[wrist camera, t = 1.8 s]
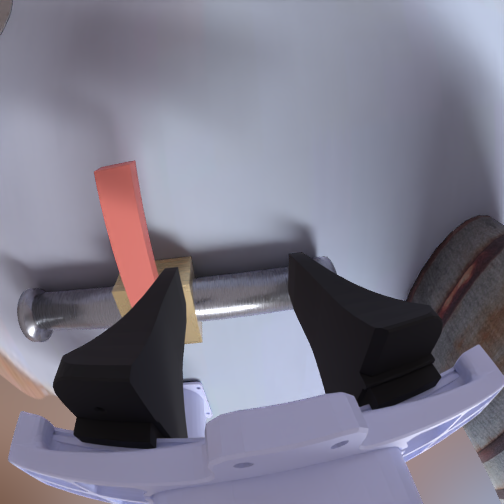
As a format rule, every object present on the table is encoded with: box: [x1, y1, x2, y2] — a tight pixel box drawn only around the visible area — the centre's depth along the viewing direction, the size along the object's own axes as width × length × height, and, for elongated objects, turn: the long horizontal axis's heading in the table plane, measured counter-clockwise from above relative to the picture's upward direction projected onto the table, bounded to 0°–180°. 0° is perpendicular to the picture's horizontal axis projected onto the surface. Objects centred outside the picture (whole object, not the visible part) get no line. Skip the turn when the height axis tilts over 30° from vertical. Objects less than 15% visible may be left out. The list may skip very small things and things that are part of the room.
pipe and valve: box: [17, 256, 337, 344], centre depth 21 cm, size 6×28×5 cm, turn 93°
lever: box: [94, 160, 159, 308], centre depth 17 cm, size 14×3×1 cm, turn 3°
